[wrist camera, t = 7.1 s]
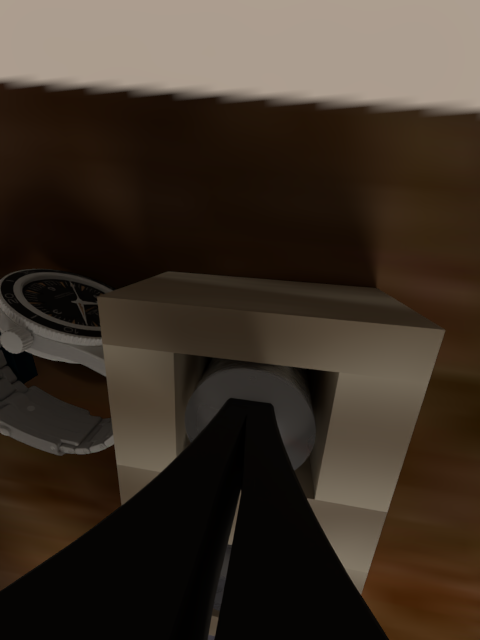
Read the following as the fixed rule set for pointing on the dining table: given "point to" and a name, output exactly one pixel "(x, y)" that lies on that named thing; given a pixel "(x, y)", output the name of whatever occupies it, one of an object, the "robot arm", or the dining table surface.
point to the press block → (278, 349)
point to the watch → (54, 344)
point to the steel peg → (257, 385)
